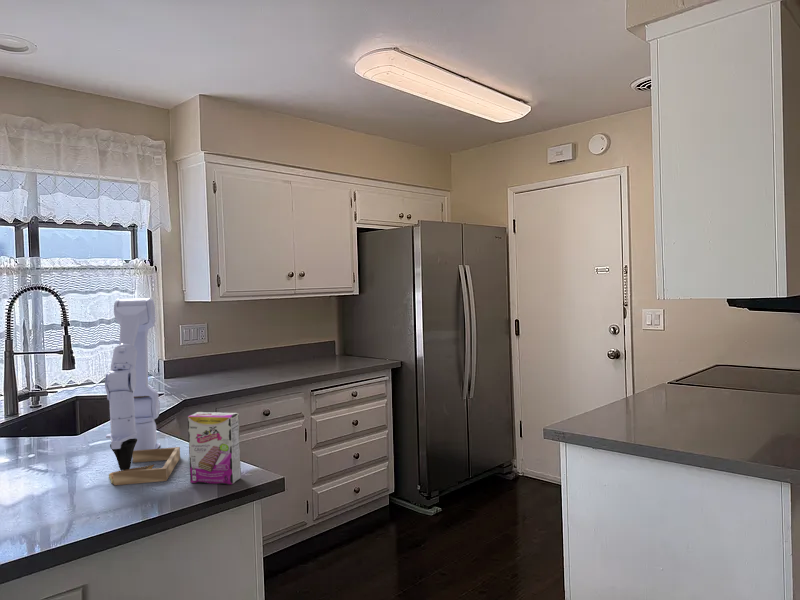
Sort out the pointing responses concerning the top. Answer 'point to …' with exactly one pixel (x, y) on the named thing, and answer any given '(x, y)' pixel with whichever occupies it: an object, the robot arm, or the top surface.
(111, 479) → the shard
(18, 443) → the top surface
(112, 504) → the top surface
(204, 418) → the candy bar box
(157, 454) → the frame
